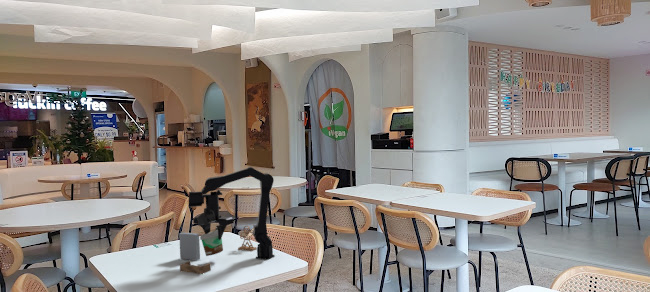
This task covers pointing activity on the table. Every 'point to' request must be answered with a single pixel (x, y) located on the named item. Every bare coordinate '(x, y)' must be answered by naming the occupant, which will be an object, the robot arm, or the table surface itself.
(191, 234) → the sliding gate
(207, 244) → the food container
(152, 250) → the table surface
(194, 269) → the frame
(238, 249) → the lattice stand
